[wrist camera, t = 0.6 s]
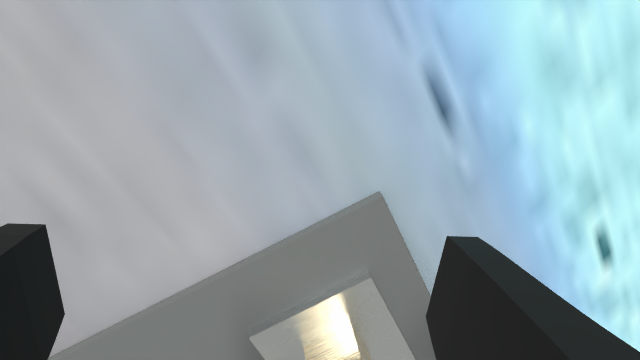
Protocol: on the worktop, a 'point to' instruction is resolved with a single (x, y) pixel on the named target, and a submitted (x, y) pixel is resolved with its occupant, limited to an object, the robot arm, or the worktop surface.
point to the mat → (274, 293)
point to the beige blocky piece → (334, 327)
